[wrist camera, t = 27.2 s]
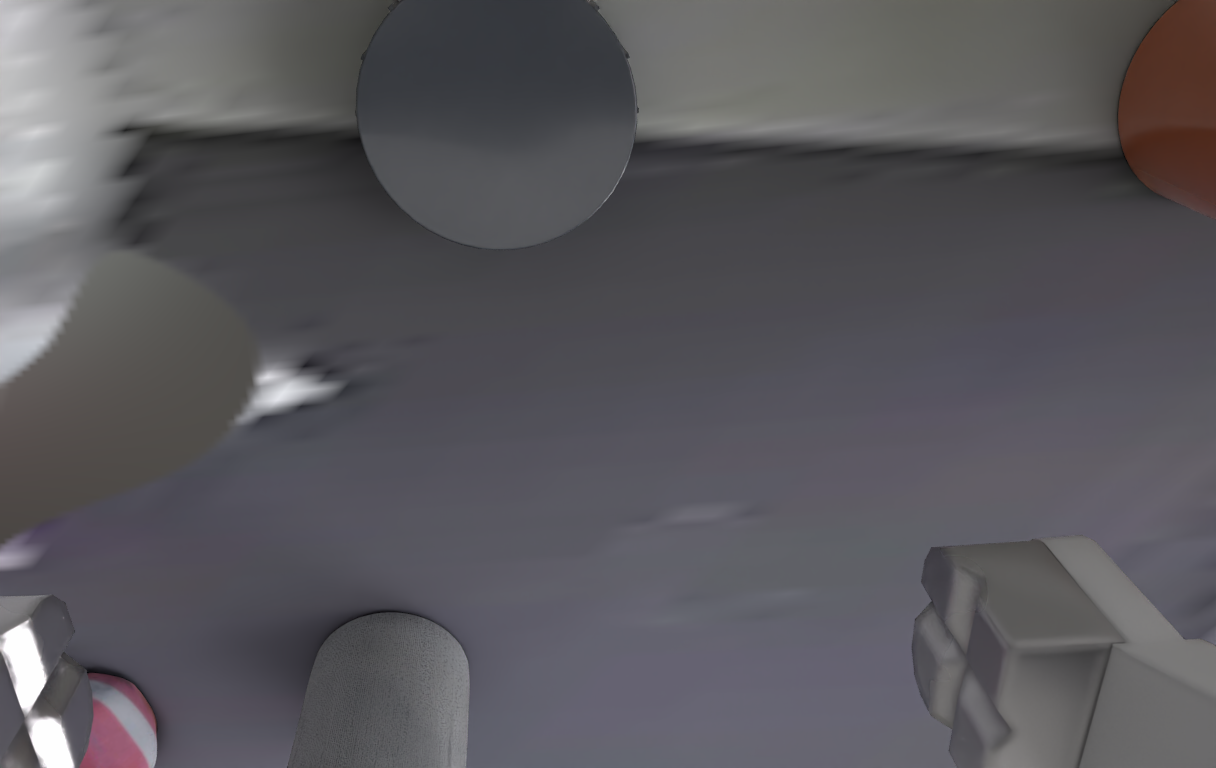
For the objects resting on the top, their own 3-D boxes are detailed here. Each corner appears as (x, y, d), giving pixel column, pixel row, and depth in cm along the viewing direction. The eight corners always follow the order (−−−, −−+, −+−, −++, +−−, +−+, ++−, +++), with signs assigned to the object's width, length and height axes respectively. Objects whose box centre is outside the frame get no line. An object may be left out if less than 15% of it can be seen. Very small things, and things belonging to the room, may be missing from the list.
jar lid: (654, -10, 23) (667, -3, 21) (601, 247, 25) (608, 272, 23) (380, -69, 22) (370, -66, 20) (352, 204, 24) (341, 227, 22)
